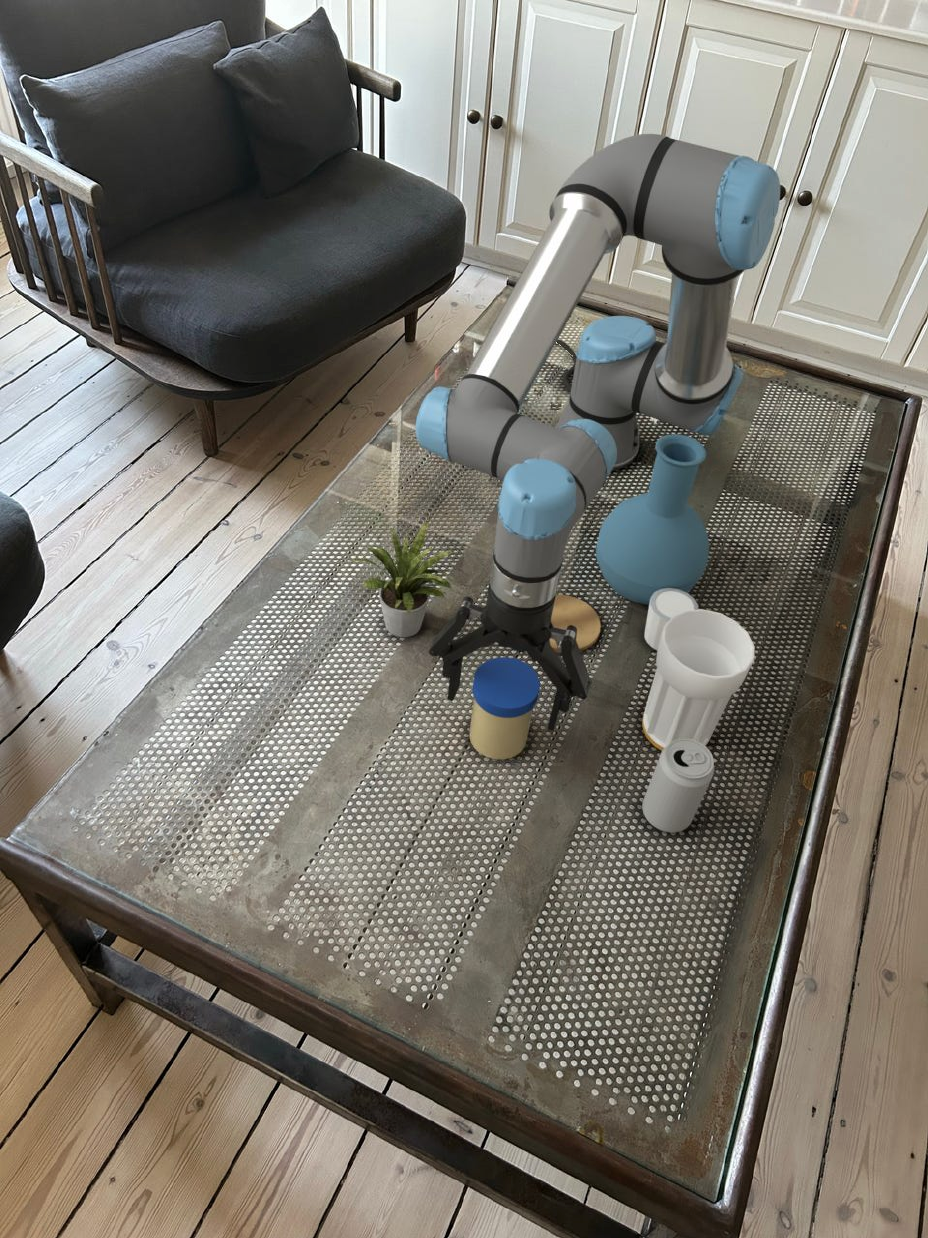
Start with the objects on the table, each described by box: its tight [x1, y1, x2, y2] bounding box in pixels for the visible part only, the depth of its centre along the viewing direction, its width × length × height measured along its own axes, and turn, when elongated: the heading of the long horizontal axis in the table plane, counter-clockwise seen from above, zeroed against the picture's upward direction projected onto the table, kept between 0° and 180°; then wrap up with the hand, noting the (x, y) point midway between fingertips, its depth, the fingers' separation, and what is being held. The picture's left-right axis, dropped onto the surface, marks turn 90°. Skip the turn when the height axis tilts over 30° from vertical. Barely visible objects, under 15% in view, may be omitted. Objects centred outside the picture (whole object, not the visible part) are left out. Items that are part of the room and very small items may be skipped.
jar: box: [468, 698, 535, 760], centre depth 125 cm, size 8×8×11 cm
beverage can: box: [641, 738, 715, 833], centre depth 118 cm, size 6×6×12 cm
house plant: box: [346, 520, 459, 638], centre depth 134 cm, size 14×14×16 cm
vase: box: [595, 433, 710, 606], centre depth 142 cm, size 16×16×25 cm
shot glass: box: [644, 588, 699, 651], centre depth 140 cm, size 7×7×7 cm
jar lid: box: [472, 656, 541, 718], centre depth 121 cm, size 8×8×2 cm
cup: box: [641, 608, 756, 752], centre depth 125 cm, size 11×11×17 cm
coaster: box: [550, 594, 602, 654], centre depth 143 cm, size 11×11×1 cm
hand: (502, 707), depth 124 cm, fingers open, 12 cm apart
